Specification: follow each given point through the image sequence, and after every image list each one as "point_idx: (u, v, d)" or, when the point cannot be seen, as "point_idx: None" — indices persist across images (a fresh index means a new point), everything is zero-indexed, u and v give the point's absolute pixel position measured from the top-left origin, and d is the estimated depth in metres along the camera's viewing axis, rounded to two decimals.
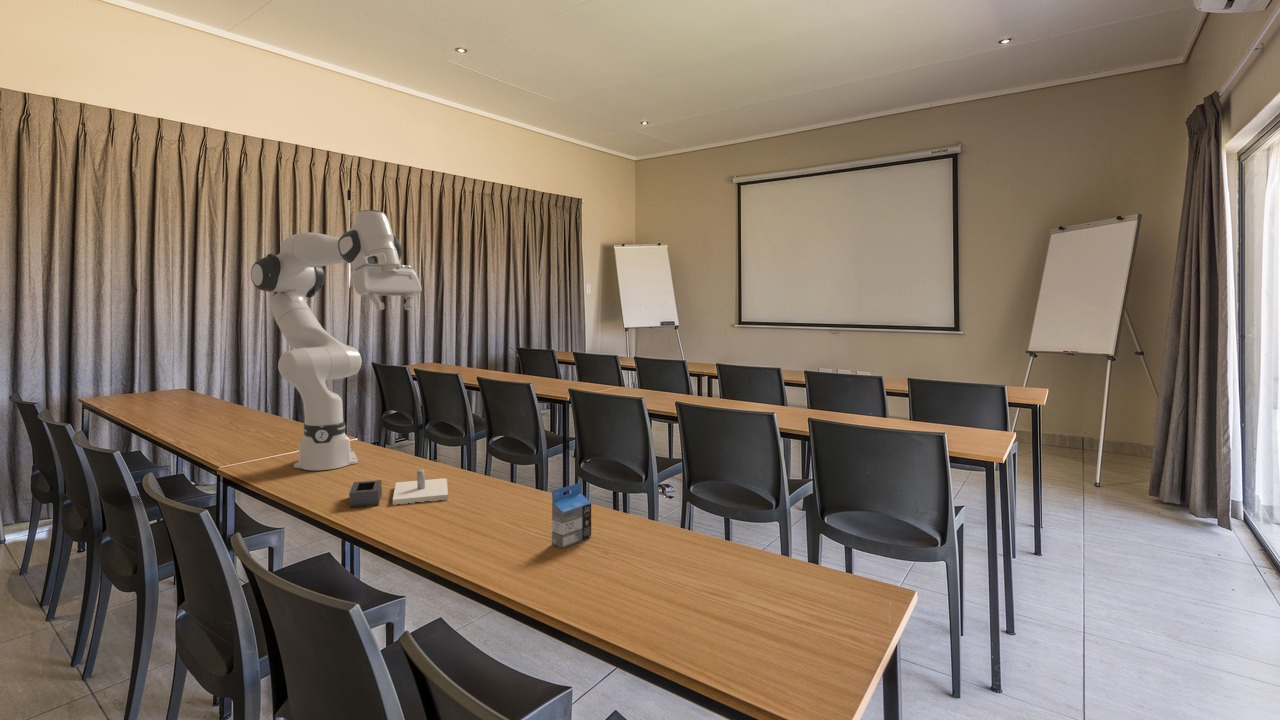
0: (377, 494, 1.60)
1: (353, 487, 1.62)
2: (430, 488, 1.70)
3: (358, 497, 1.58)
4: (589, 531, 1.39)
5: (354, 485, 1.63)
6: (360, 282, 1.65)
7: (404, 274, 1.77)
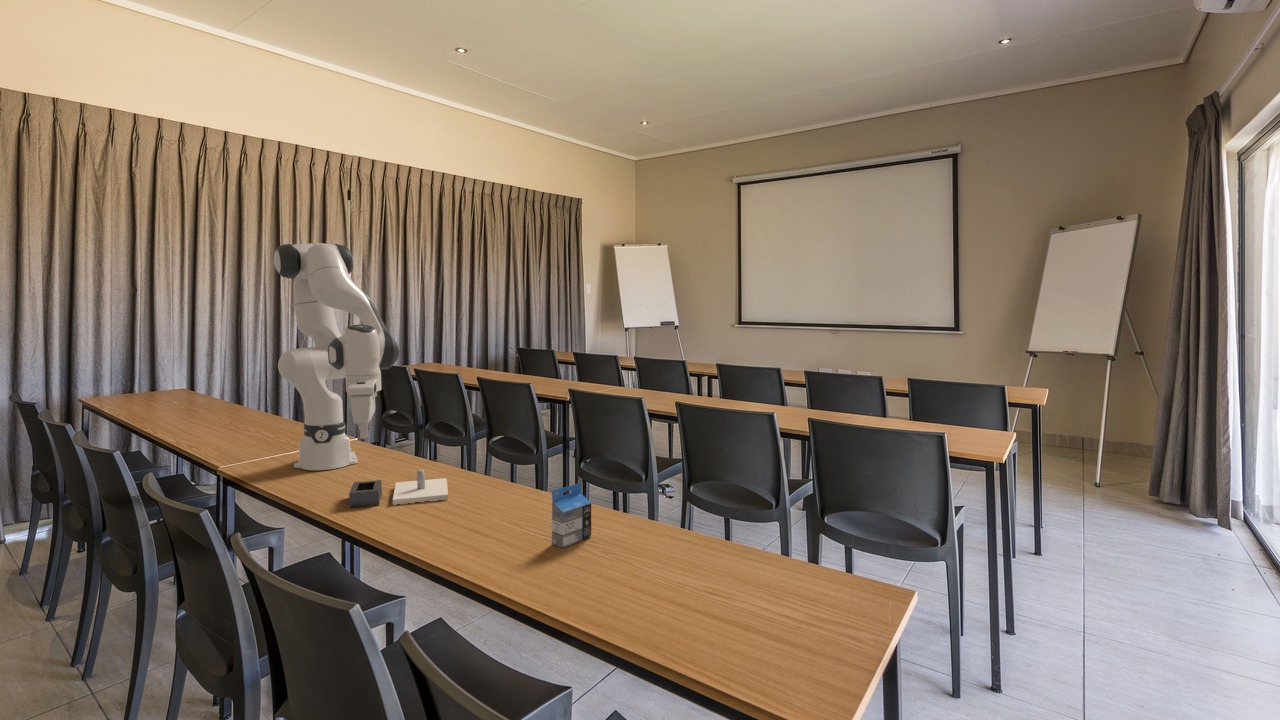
0: (377, 494, 1.60)
1: (353, 487, 1.62)
2: (430, 488, 1.70)
3: (358, 497, 1.58)
4: (589, 531, 1.39)
5: (354, 485, 1.63)
6: (365, 413, 1.56)
7: None
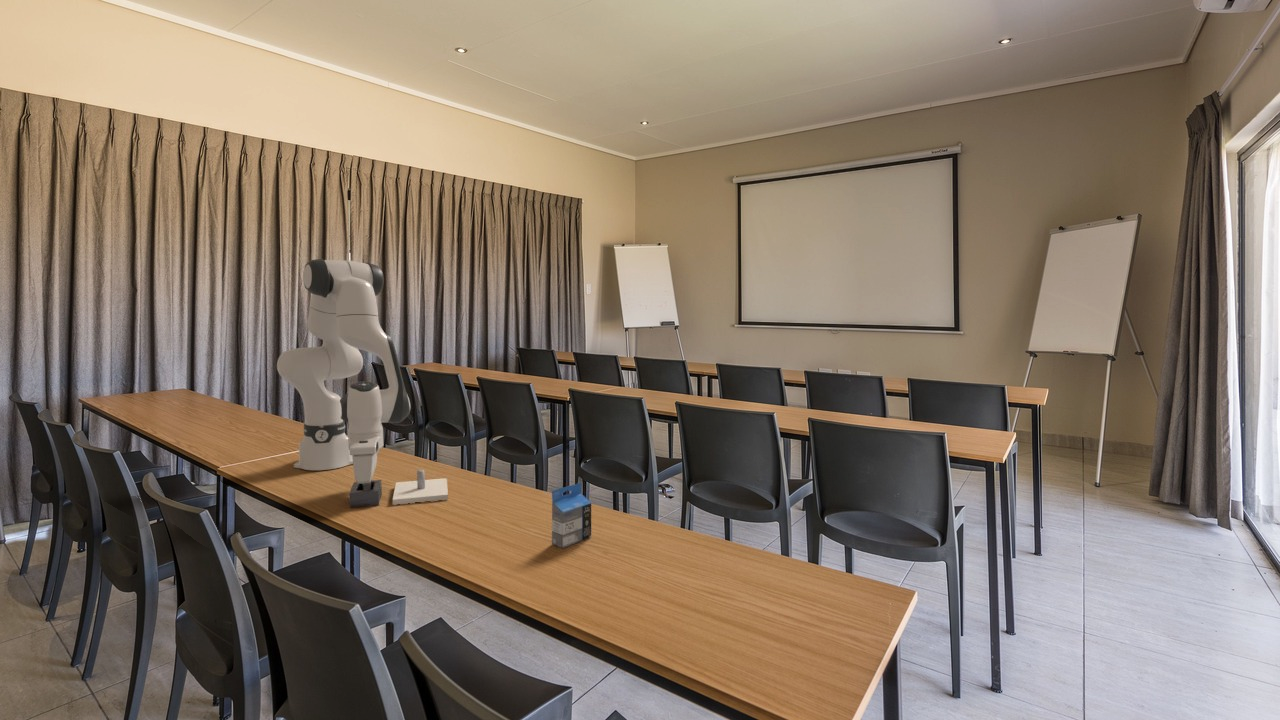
0: (377, 494, 1.60)
1: (353, 487, 1.62)
2: (430, 488, 1.70)
3: (358, 497, 1.58)
4: (589, 531, 1.39)
5: (354, 485, 1.63)
6: (367, 473, 1.58)
7: None
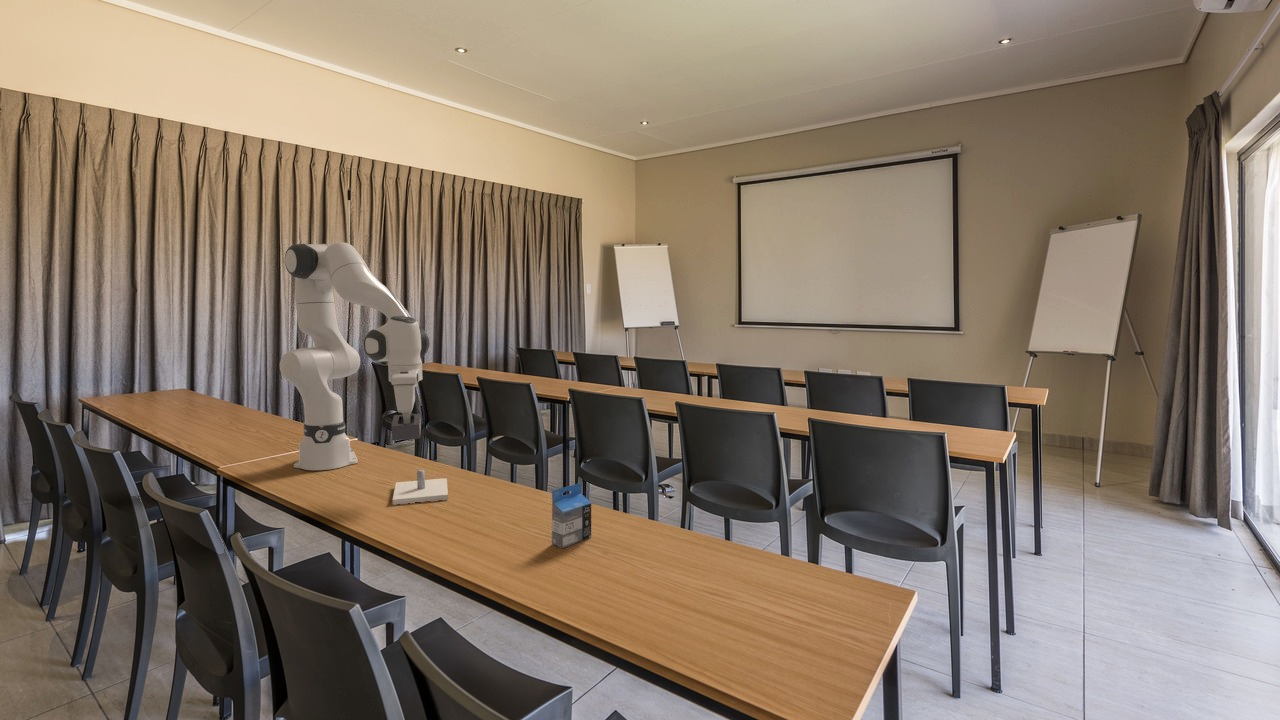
0: (418, 428, 1.63)
1: (394, 420, 1.65)
2: (430, 488, 1.70)
3: (400, 430, 1.61)
4: (589, 531, 1.39)
5: (395, 419, 1.66)
6: (409, 402, 1.61)
7: None
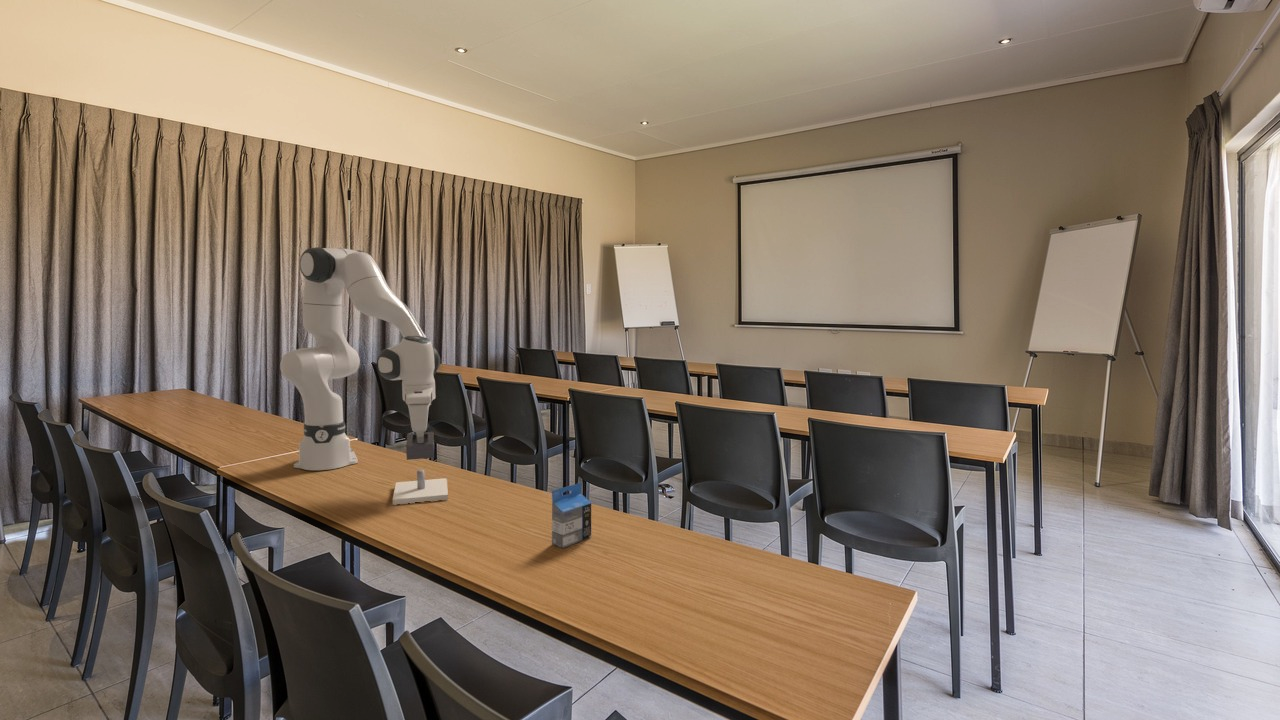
0: (432, 447, 1.65)
1: (408, 439, 1.67)
2: (430, 488, 1.70)
3: (414, 450, 1.64)
4: (589, 531, 1.39)
5: (409, 437, 1.69)
6: (423, 421, 1.63)
7: None
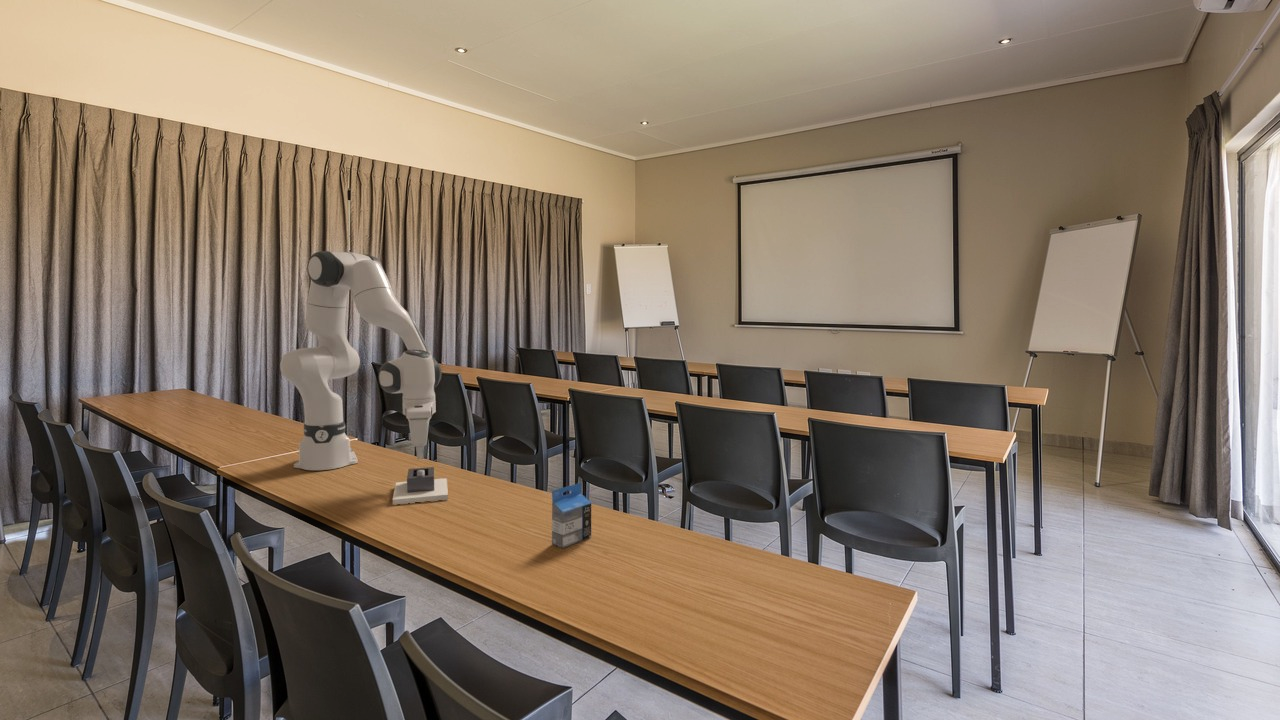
0: (433, 480, 1.68)
1: (409, 473, 1.70)
2: None
3: (415, 483, 1.66)
4: (589, 531, 1.39)
5: (410, 472, 1.72)
6: (423, 436, 1.63)
7: None
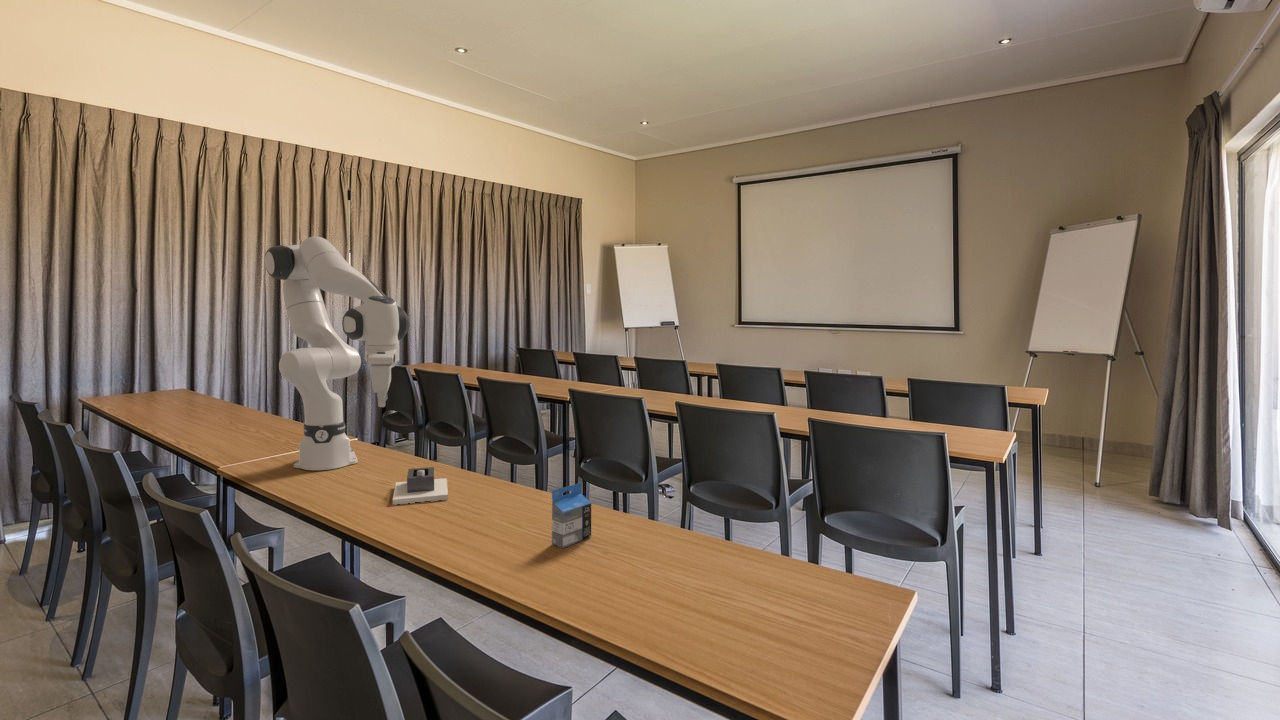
0: (433, 480, 1.68)
1: (409, 473, 1.70)
2: None
3: (415, 483, 1.66)
4: (589, 531, 1.39)
5: (410, 472, 1.72)
6: (385, 382, 1.61)
7: None
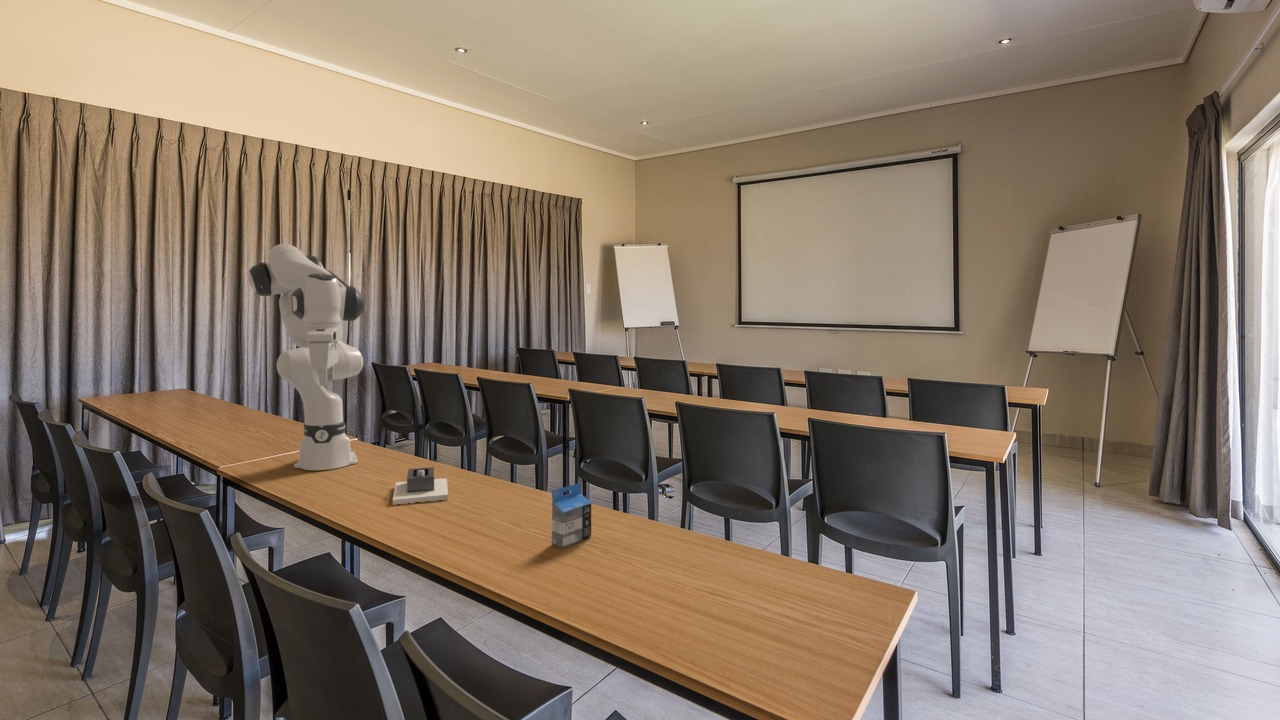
0: (433, 480, 1.68)
1: (409, 473, 1.70)
2: None
3: (415, 483, 1.66)
4: (589, 531, 1.39)
5: (410, 472, 1.72)
6: (324, 360, 1.57)
7: None
